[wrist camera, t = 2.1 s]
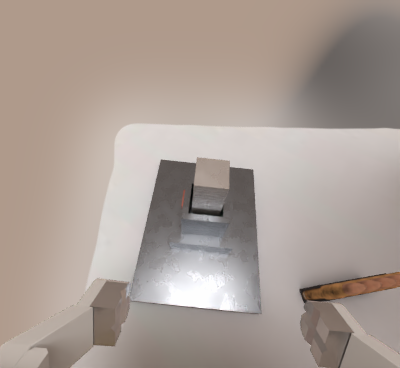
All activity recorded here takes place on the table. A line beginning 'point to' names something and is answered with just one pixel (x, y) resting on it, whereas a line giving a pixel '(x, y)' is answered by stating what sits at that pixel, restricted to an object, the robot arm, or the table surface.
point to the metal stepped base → (199, 246)
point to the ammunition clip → (351, 287)
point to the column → (210, 186)
